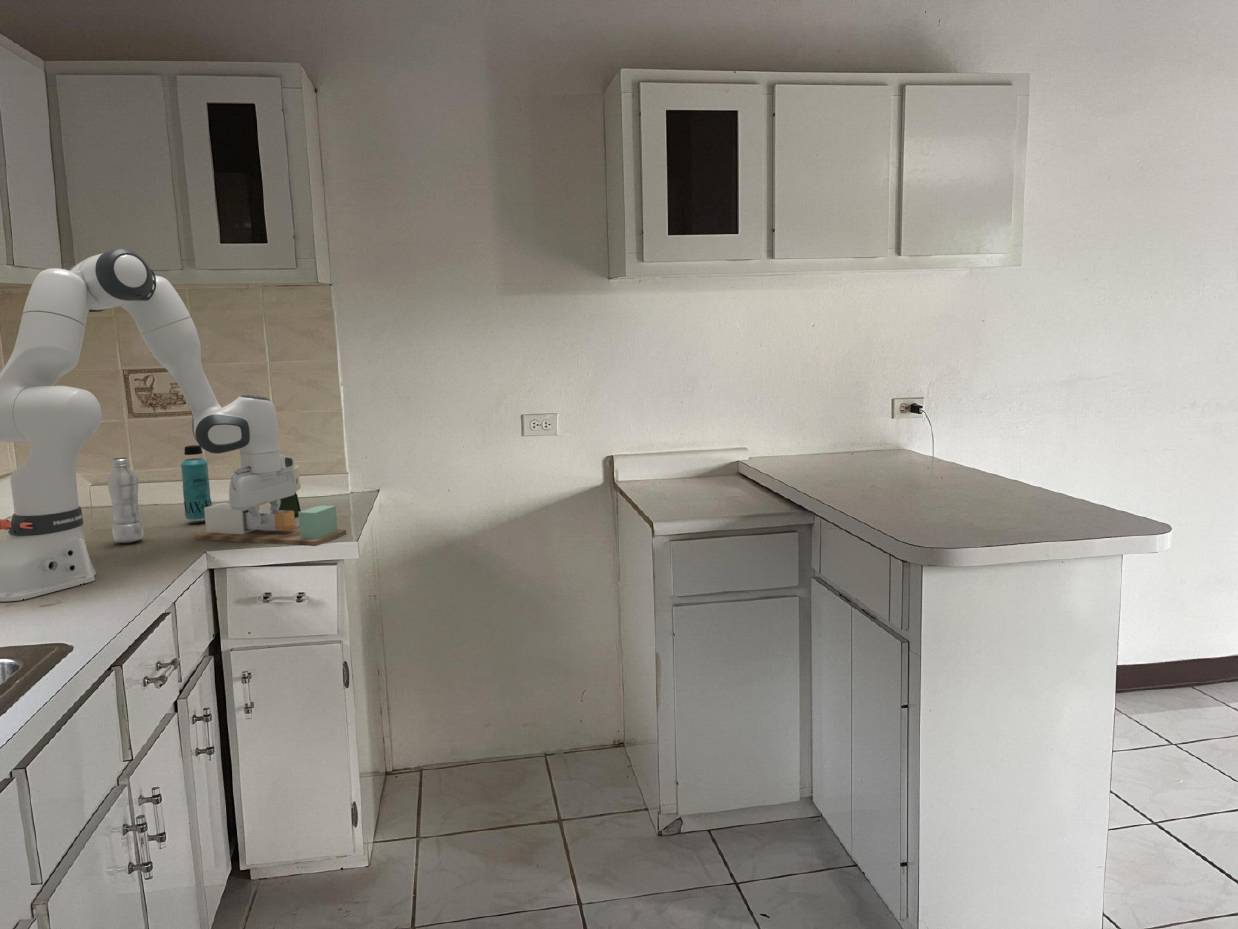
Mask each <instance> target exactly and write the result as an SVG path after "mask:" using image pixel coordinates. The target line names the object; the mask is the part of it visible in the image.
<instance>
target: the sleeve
mask: <svg viewBox="0 0 1238 929" xmlns="http://www.w3.org/2000/svg"><path fill="white" fill-rule="evenodd" d="M246 510H248V509H245V510H233V509H232V508H231V507H230V504H229V502H221V503H217V504H213V505H212V506H209V507H205V508H204V512H205V518H204V522H205V532H209V533H229V534H246V533H249V532H252V531H255V530H252V529H245V527H244V516H243V511H246Z"/></svg>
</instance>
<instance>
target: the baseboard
mask: <svg viewBox="0 0 1238 929" xmlns="http://www.w3.org/2000/svg"><path fill="white" fill-rule="evenodd" d="M346 534H347V529H342V528H341V529H338V528H337V532H334V533H332V534H329V535H327V536H324V537H321V538H319V539H305V538H300V527H299V526H298V527H297V526H295V528H292V529H289V530H286V531H273V530H255V531H252V532H249V533H246V534H229V533H209V532H206V531H203V532H200V533H196V534H194V535H193V536H194V540H203V541H204V540H207V541H222V542H240V543H241V542H242V543H243V542H244V543H257V544H258V543H261V544H262V543H263V544H275V545H276V544H279V545H280V544H281V545H282V544H283V545H295V546H296V545H297V546H299V545H300V546H315V547H317V546H319V545H321V544H324V543H326V542H329V541H331V540H334V539H336V538H339V537H341V536H345V535H346Z"/></svg>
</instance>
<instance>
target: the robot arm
mask: <svg viewBox="0 0 1238 929" xmlns="http://www.w3.org/2000/svg"><path fill="white" fill-rule="evenodd" d="M118 307H121V308H123V309H124V310H125V311H126V312H127V313H129V315H130V316H131V317H132V319H133V321H134V324H135V325H136V327H137V330H138V332H139V334H140V335H141V337H142V339H143V343H145V344H146V347H147V348H148V350H149V352H150V353H151V354H152V356H153V357H154V359H156V360H157V362H158V363H159V364H160V365H161V366H162V367H163V368H164V369H165V370H167V372H168V373H169V374H170V375H171V376H172V377H173V379H174V381H175V382H176V384H177V386H179V389H180V390H181V393H182V396H183V398H184V400H185V401H186V403H187V406H188V408H189V410H190V413H191V417H192V419H191V429H192V431H191V432H192V434H193V438H194V439H195V441H196V442H197V444H198V445H199V446H201V449H202V450H204V451H206V452H208V453H210V454H213V455H214V454H215V455H221V454H226V453H229V452H232V451H236V450H239V458H240V467H241V468H239V469H235V470H234V471H233V473H232V475H231V476H230V481H229V487H228V498H229V500H228V501H229V502H228V503H229V504H230V507H231V508H232V509H233V510H245V509H248V511H249V512H250V514H251V516H252V517H253V523H254V524H257V525H258V524H261V523H263V522H264V521H263V516H260V513H259V511H258V510H260V509H261V508H260V506H261V505H262V506H263V505H265V504H269V505H270V509H269V510H279V507H280V504H281V501H280V499H282V498H286V497H289V496H292V495H294V494H295V492H296V493H297V491H296V475H295V470H294V468H293V466H294V465H295V464H296V463H295V462H296V461H295V458H294V457H292V456H289V455H285V454H281V447H280V445H279V442H278V436H279V423H278V416H277V415H278V414H277V411H276V406H275V404H274V402H273V401H272V400H270V399H269V398H267V397H266V396H261V395H252V394H250V395H249V394H242V395H239V396H238V397H237V398H236V399H234V400H233V401H232V402H230V403H229V404H226V405H225V406H222V405H221V403H219V401H218V399H217V398H216V395H215V393H214V391H213V389H212V387H211V385H210V383H209V381H208V378H207V376H206V374H205V372H204V368H203V364H202V346H201V345H202V344H201V341H200V336H199V333H198V331H197V327H196V325H195V323H194V321H193V320H194V319H192V316H191V314H190V313H189V312H190V311H189V310H188V308H187V307H186V304H185V303H184V301H183V300H182V298H181V297H180V295H179V293H178V292H177V290H176V289H175V287H173V284H171V282H170V281H169V280H168V279H167V278H165V277H163V276H160V275H156V274H155V272H154V271H153V270H152V269H151V268H150V265H149V264H148V263H147V262H146V261H145V260H144V259H143V257H142V256H140V255H139V254H138V253H136V252H135V251H132V250H130V249H125V248H116V249H115V248H114V249H109V250H106V251H104V252H101V253H100V254H99V253H98V254H96V255H92V256H89V257H87V258H85V259H84V260H82V261H80V262H79V263H77V264H74V265H73V266H71V267H70V268H69V269H65V268H56V267H54V268H47V269H43V270H42V271H40V272H39V273H38V274H37V275H36V276H35V278H34V281H33V283H32V284H31V287H30V289H29V292H28V294H27V297H26V300H25V304H24V307H23V311H22V314H21V319H20V325H19V328H18V333H17V337H16V340H15V345H14V348H13V350H12V352H11V355H10V357H9V358H8V361H7V363H6V364H5V366H3V368H2V370H1V371H0V442H4V443H25V442H26V443H28V445H29V449H28V453H27V457H26V460H25V461H24V462H23V463H22V464H20V465H19V466H18V467H16V468H15V469H14V470H13V471H12V473H11V475H10V478H9V479H10V480H9V481H10V487H11V495H12V502H13V503H12V504H13V511H14V513H13V514H12V516H11V519H10V520H9V519H1V518H0V531H1V530H2V531H3V530H5V531H6V530H8V536H6V538H5V539H4V540H3V541H2V542H1V543H0V602H17V601H23V599H24V600H28V599H32V598H35V597H38V596H43V595H47V594H49V593H54V592H57V591H62V590H65V589H66V590H67V589H68V588H73V587H76V586H80V584H81V585H84V584H89V583H91V582H92V583H93V582H94V581H95V580H96V577H95V576H96V574H97V571H96V569H95V566H94V565H93V563H92V561H91V557H90V554H89V551H88V547H87V545H86V540H85V535H84V532H83V525H84V519H83V518H84V516H83V512H82V511H83V510H82V506H80V505H79V496H78V484H77V483H78V482H77V468H78V460H79V456H80V454H81V452H82V449H83V446H84V445H85V444H86V442H87V441H88V440H89V438H91V437H92V436H93V435H94V434H95V433H96V432H97V431H98V429H99V427H100V425H101V422H102V418H103V417H102V415H103V413H102V407H101V403H100V402H99V400H98V399H97V397H96V396H95V394H93V393H92V392H90V391H89V390H86V389H82V388H79V387H74V386H68V385H56V384H57V383H58V381H59V380H60V379H61V378H62V377H63V376H65V375H66V374H68V373H69V372H70V371H72V370H74V368H75V367H76V366H77V365H78V364H79V361H80V356H81V351H82V346H83V341H84V336H85V331H86V326H87V319H88V315H89V313H98V312H103V311H105V310H109V309H112V308H118ZM83 583H84V584H83Z"/></svg>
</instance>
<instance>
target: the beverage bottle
mask: <svg viewBox="0 0 1238 929" xmlns="http://www.w3.org/2000/svg"><path fill="white" fill-rule="evenodd" d="M183 452H184V455H185V456H193V455H195V456H197V455H201V454H203V448H202V447H201V446H200V445H199V444H198V445H197V444H195V445H194V444H193V445H186V446H185V447H184V451H183ZM208 464H209V463H208V461H207V460H205V459H204V458H203V457H195V458H193V457H191V458H186V459H184V460H183V461H182V462H181V463H180V466H181V467H180V468H181V480H182V496H183V504H184V505H183V506H184V516H185V519H186V520H190V521H191V520H194V521H195V520H205V512H204V508H205V507H209V506H212V498H211V489H210V478H209V468H208Z"/></svg>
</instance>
